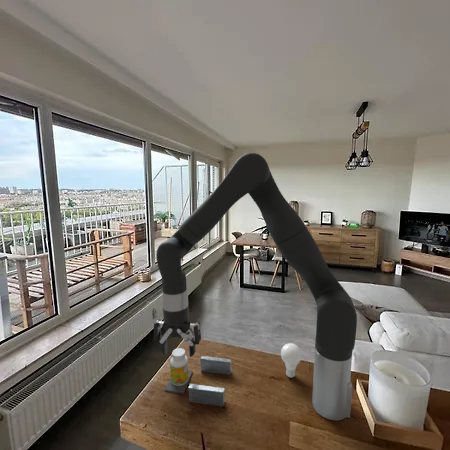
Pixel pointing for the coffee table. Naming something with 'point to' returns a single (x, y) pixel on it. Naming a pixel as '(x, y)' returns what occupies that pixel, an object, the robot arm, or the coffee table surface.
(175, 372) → the supplement bottle
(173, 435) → the coffee table surface
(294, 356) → the lightbulb
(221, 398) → the grey bricks
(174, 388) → the gray rectangular block
